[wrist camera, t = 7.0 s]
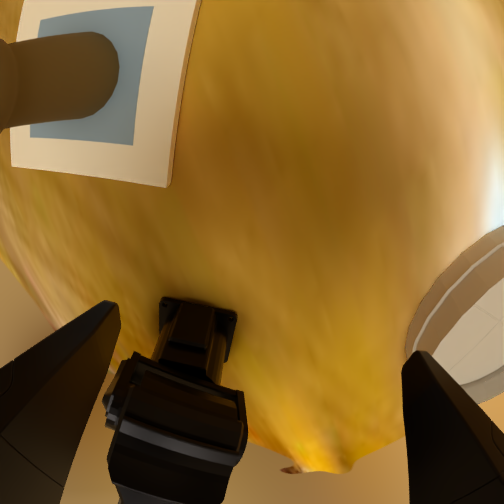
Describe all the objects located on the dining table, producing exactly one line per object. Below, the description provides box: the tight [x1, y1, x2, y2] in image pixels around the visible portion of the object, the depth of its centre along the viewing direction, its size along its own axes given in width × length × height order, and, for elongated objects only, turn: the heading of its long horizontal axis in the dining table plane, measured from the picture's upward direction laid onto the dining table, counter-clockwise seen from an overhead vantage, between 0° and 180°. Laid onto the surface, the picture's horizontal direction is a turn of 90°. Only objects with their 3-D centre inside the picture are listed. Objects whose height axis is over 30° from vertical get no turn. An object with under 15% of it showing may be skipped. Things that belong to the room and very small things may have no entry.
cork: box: [0, 31, 120, 133], centre depth 10 cm, size 6×6×11 cm
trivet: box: [10, 0, 201, 188], centre depth 15 cm, size 14×14×1 cm
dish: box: [405, 226, 504, 404], centre depth 22 cm, size 22×22×5 cm
